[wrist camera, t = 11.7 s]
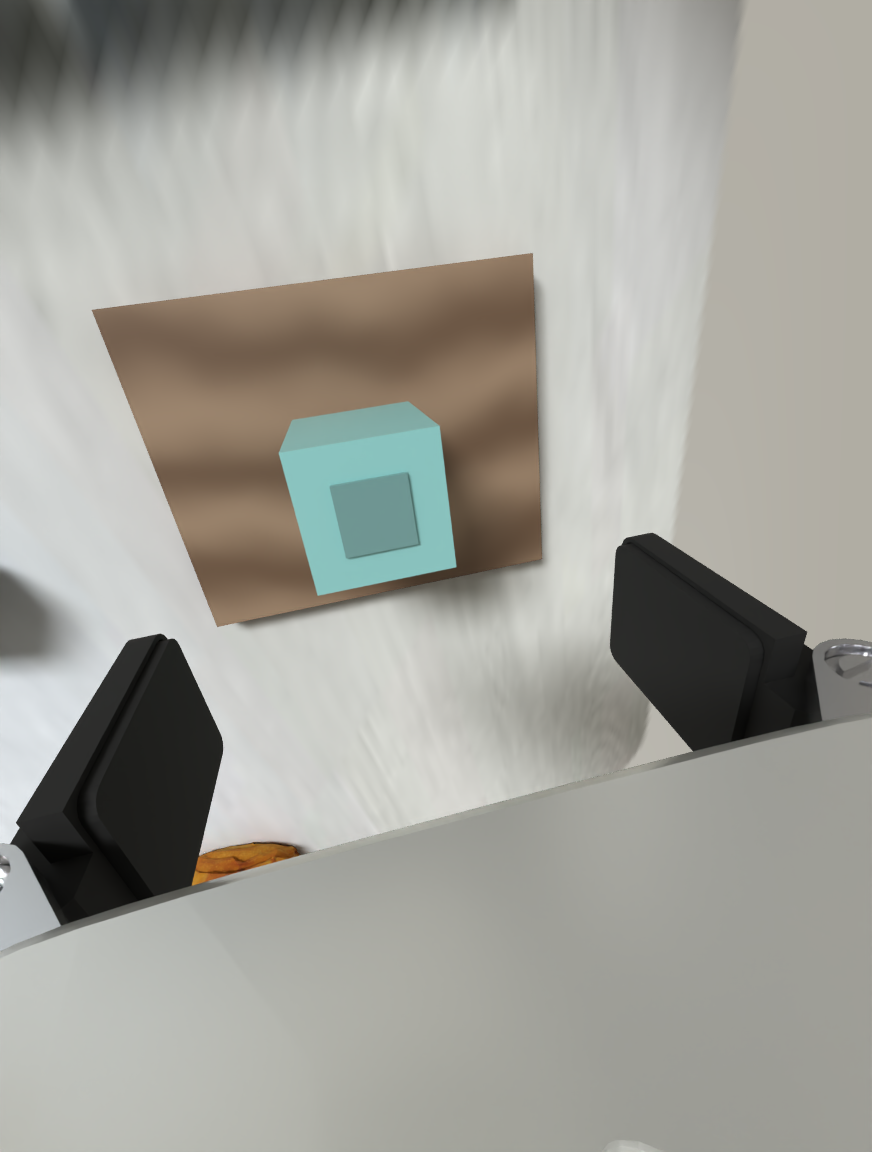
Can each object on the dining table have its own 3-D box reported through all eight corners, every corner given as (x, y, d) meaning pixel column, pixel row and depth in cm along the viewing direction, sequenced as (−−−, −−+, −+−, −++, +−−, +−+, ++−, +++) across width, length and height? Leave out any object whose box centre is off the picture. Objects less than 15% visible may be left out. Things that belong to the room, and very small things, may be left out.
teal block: (292, 419, 25) (278, 454, 18) (408, 401, 26) (440, 426, 18) (319, 529, 28) (317, 597, 20) (424, 509, 28) (457, 569, 21)
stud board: (108, 312, 25) (-30, 296, 15) (519, 258, 28) (624, 215, 18) (222, 611, 33) (180, 724, 24) (531, 548, 36) (607, 626, 26)
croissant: (323, 902, 52) (335, 989, 46) (157, 944, 47) (143, 1050, 40) (332, 809, 46) (347, 894, 39) (141, 845, 40) (121, 951, 34)
